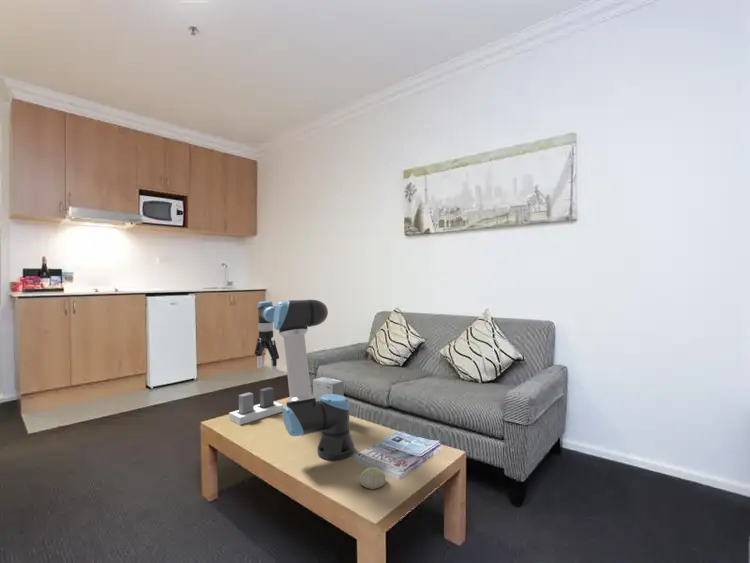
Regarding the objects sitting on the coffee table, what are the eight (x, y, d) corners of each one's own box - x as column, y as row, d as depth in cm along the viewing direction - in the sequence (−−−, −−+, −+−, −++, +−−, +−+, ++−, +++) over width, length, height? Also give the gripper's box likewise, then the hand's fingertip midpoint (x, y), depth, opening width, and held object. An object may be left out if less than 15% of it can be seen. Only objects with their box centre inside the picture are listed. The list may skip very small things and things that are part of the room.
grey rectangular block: (274, 410, 212) (273, 388, 212) (264, 413, 208) (263, 391, 207) (269, 408, 215) (269, 387, 214) (260, 411, 210) (259, 389, 210)
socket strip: (283, 411, 212) (282, 388, 212) (240, 425, 194) (239, 399, 194) (272, 406, 220) (271, 384, 219) (229, 419, 202) (228, 395, 201)
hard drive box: (344, 420, 198) (344, 381, 197) (333, 425, 192) (332, 384, 191) (324, 413, 208) (323, 376, 207) (312, 418, 202) (312, 379, 201)
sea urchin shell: (385, 470, 144) (385, 462, 139) (385, 494, 139) (385, 487, 133) (360, 470, 145) (359, 462, 139) (360, 493, 139) (358, 487, 133)
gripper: (285, 331, 204) (286, 372, 205) (259, 327, 221) (260, 365, 222) (272, 333, 199) (273, 375, 199) (247, 329, 216) (248, 367, 216)
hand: (266, 370), depth 211 cm, fingers open, 13 cm apart
